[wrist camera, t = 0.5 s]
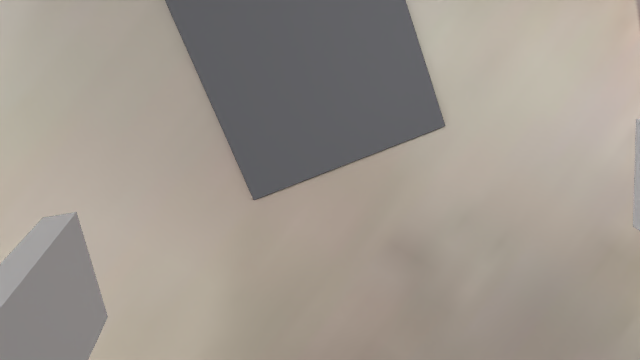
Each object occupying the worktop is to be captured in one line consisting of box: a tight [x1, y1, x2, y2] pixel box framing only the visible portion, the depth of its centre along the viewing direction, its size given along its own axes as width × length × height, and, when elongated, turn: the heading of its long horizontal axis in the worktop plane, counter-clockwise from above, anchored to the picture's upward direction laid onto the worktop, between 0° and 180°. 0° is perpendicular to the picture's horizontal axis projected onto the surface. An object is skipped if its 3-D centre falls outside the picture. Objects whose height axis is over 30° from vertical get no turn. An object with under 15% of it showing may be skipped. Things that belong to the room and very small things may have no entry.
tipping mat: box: [165, 0, 445, 200], centre depth 38 cm, size 18×14×1 cm
